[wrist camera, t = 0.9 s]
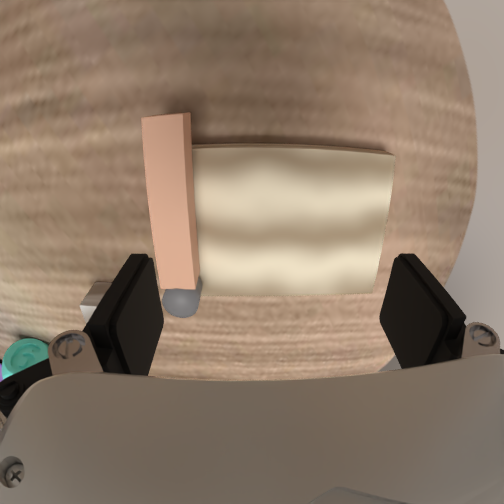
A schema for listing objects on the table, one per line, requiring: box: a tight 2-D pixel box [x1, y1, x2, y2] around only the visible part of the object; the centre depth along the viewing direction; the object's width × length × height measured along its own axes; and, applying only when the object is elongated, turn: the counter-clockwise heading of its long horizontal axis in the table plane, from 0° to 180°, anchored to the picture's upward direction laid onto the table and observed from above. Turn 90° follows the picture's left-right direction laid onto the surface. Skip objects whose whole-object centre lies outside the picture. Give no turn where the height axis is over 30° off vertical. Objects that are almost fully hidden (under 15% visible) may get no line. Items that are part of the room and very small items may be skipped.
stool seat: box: [80, 143, 396, 324], centre depth 28 cm, size 17×30×4 cm, turn 90°
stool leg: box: [141, 112, 202, 318], centre depth 25 cm, size 17×3×3 cm, turn 0°
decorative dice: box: [2, 338, 49, 379], centre depth 36 cm, size 8×8×8 cm
